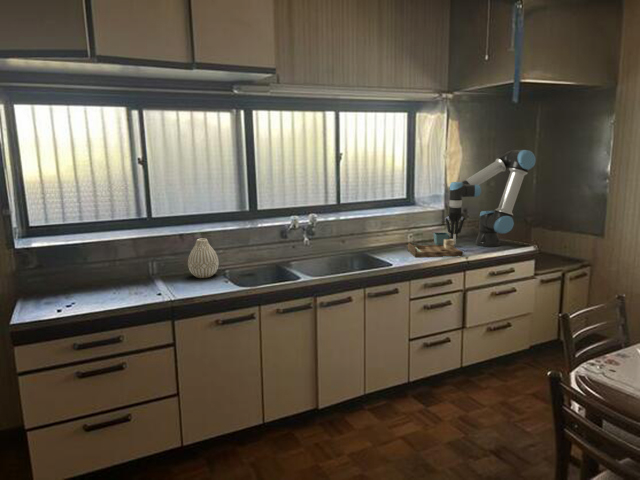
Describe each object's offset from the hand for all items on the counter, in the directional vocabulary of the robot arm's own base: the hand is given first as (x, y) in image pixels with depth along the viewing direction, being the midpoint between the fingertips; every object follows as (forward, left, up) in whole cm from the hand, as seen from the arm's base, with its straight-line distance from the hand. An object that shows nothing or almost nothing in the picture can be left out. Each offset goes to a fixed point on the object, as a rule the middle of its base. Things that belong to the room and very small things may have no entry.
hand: (453, 243), depth 309 cm
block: (+3, 0, -2) cm, 4 cm away
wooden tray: (+14, +4, -5) cm, 15 cm away
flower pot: (+4, -15, -5) cm, 16 cm away
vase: (+150, +43, -5) cm, 156 cm away
